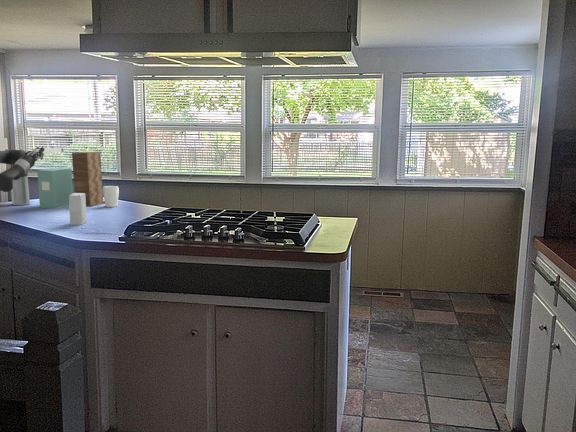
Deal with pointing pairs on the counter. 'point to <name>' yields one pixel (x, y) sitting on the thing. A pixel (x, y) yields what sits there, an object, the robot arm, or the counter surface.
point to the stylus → (50, 150)
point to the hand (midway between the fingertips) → (41, 148)
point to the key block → (54, 187)
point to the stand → (88, 176)
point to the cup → (111, 195)
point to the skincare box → (77, 208)
